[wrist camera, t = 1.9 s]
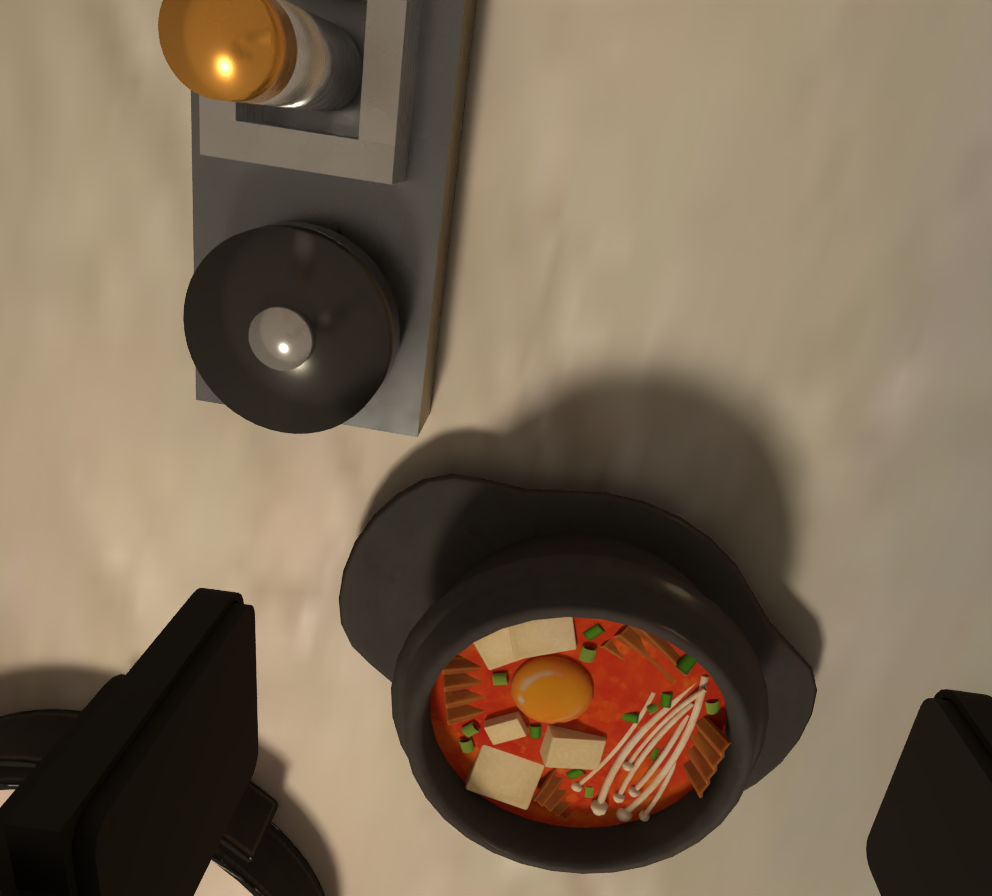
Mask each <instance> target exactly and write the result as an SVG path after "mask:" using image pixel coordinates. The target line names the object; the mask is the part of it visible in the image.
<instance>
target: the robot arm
mask: <svg viewBox="0 0 992 896" xmlns="http://www.w3.org/2000/svg"><path fill="white" fill-rule="evenodd" d="M257 757H258V720H257V680H256V639H255V611H254V608H253V606H252V605H246V604H244V602H243V598H242V595H241V594H239V593H236V592H228V591H221V590H214V589H206V588H199V589H197V590H196V591H195V592H194V593H193V594H192V595H191V596H190V598H189V599H188V600H187V601H186V603H185V604H184V605H183V606H182V607H181V609H180V610H179V611H178V612H177V613H176V615H175V616H174V617H173V618H172V620H171V621H170V622H169V623H168V624H167V626H166V627H165V628H164V629H163V630H162V632H161V633H160V634H159V635H158V637H157V638H156V639H155V640H154V641H153V643H152V644H151V645H150V646H149V647H148V649H147V650H146V651H145V652H144V654H143V655H142V656H141V657H140V658H139V660H138V661H137V662H136V663H135V664H134V666H133V667H132V668H131V669H130V671H129V672H128V673H127V674H126V675H122V674H120V675H118V676H115V677H113V678H112V679H110V680H109V681H108V682H107V683H106V684H105V685H104V686H103V687H102V688H101V690H100V691H99V692H98V693H97V694H96V696H95V697H94V698H93V699H92V700H91V701H90V703H89V704H88V705H87V706H86V707H85V708H84V710H83V711H82V712H81V713H80V714H79V716H78V717H77V718H76V719H75V720H74V721H73V723H72V724H71V725H70V726H69V727H68V729H67V730H66V731H65V732H64V733H63V734H62V736H61V737H60V738H59V739H58V740H57V741H56V743H55V744H54V745H53V746H52V747H51V749H50V750H49V751H48V752H47V753H46V754H45V756H44V757H43V758H42V759H41V760H40V762H39V763H38V764H37V765H36V766H35V767H34V769H33V770H32V771H31V772H30V773H29V774H28V776H27V777H26V778H25V779H24V780H23V782H22V783H21V784H20V785H19V786H18V787H17V789H16V790H15V791H14V792H13V793H12V795H11V796H10V797H9V798H8V799H7V800H6V802H5V803H4V804H3V805H2V806H1V808H0V896H194V894H195V892H196V890H197V888H198V886H199V884H200V881H201V879H202V877H203V875H204V873H205V871H206V869H207V867H208V865H209V863H210V861H211V859H212V857H213V855H214V853H215V851H216V849H217V847H218V845H219V843H220V841H221V839H222V837H223V835H224V833H225V831H226V829H227V827H228V825H229V823H230V821H231V819H232V816H233V814H234V812H235V810H236V808H237V806H238V804H239V802H240V800H241V798H242V796H243V794H244V792H245V790H246V788H247V786H248V784H249V782H250V780H251V778H252V775H253V773H254V770H255V766H256V762H257ZM866 852H867V860H868V865H869V868H870V871H871V873H872V875H873V878H874V880H875V882H876V885H877V887H878V890H879V892H880V894H881V896H992V697H991V696H988V695H985V694H977V693H970V692H963V691H955V690H948V689H945V690H940V691H939V692H938V693H937V694H936V695H935V697H934V698H928V699H926V700H925V701H923V703H922V705H921V707H920V709H919V711H918V714H917V716H916V719H915V721H914V724H913V726H912V729H911V731H910V734H909V736H908V739H907V741H906V744H905V746H904V749H903V751H902V754H901V756H900V759H899V761H898V764H897V766H896V769H895V771H894V774H893V776H892V779H891V781H890V784H889V786H888V789H887V791H886V794H885V796H884V799H883V801H882V803H881V806H880V808H879V811H878V813H877V816H876V818H875V821H874V823H873V826H872V828H871V831H870V833H869V836H868V839H867V846H866Z"/></svg>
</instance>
